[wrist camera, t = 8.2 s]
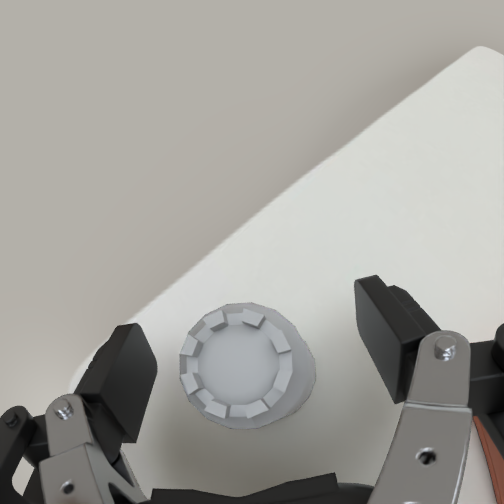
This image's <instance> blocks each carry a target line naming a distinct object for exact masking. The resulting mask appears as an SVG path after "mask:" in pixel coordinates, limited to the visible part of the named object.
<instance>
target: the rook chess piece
mask: <svg viewBox="0 0 504 504" xmlns="http://www.w3.org/2000/svg"><path fill="white" fill-rule="evenodd" d="M315 380H316V373H315V360H314V358H313V356H312V354H311V352H310V350H309V348H308V346H307V344H306V342H305V341H304V340H303V339H302V338H301V337H300V335H299V333H298V331H297V329H296V327H295V326H294V325H293V324H292V323H291V322H289V321H288V320H287V319H286V318H285V317H283V316H282V315H281V314H280V313H279V312H277V311H276V310H274V309H271V308H267V307H264V306H261V305H258V304H255V303H238V304H227V305H225V306H222V307H220V308H218V309H216V310H214V311H212V312H210V313H208V314H205V315H204V316H203V317H202V318H201V320H200V321H199V322H198V323H197V324H196V325H195V326H194V327H193V328H192V329H191V330H190V331H189V332H188V335H187V337H186V340H185V342H184V345H183V347H182V350H181V352H180V381H181V383H182V385H183V388H184V390H185V393H186V395H187V397H188V400H189V402H190V403H191V404H192V405H193V406H194V407H195V408H196V409H197V410H198V411H199V412H200V413H201V414H202V415H203V416H205V417H206V418H207V419H208V420H211V421H213V422H215V423H218V424H220V425H223V426H225V427H228V428H230V429H257V428H260V427H262V426H265V425H267V424H269V423H272V422H274V421H276V420H278V419H281V418H283V417H285V416H287V415H289V414H292V413H294V412H295V411H297V410H298V409H299V408H300V406H301V405H302V404H303V403H304V402H305V401H306V400H307V399H308V398H309V396H310V394H311V391H312V388H313V385H314V383H315Z"/></svg>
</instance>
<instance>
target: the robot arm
mask: <svg viewBox="0 0 504 504" xmlns="http://www.w3.org/2000/svg"><path fill="white" fill-rule="evenodd" d="M354 290H355V304H356V320H357V326H358V330H359V334H360V336H361V338H362V340H363V342H364V344H365V346H366V348H367V350H368V352H369V354H370V356H371V358H372V360H373V361H374V363H375V365H376V367H377V369H378V371H379V373H380V375H381V377H382V379H383V381H384V383H385V385H386V387H387V389H388V391H389V393H390V396H391V398H392V400H393V402H394V404H398V403H401V402H403V401H405V403H404V405H403V408H402V412H401V415H400V418H399V422H398V425H397V428H396V431H395V434H394V437H393V440H392V443H391V446H390V448H389V451H388V454H387V457H386V459H385V462H384V464H383V467H382V470H381V472H380V475H379V477H378V479H377V482H376V484H375V487H374V486H370V485H365V484H358V483H337V478H336V474H335V472H334V473H329V474H325V475H320V476H316V477H311V478H306V479H300V480H294V481H288V482H285V483H283V484H280V485H277V486H274V487H271V488H268V489H266V490H263V491H259V492H256V493H253V494H250V495H247V496H243V497H230V496H224V495H218V494H213V493H208V492H203V491H198V490H193V489H155V488H153V490H152V495H151V500H148V499H147V498H146V497H145V495H144V494H143V492H142V490H141V488H140V486H139V484H138V482H137V480H136V478H135V476H134V474H133V471H132V469H131V467H130V465H129V463H128V460H127V458H126V456H125V454H124V452H123V451H122V450H121V449H120V448H121V445H122V443H136V442H137V438H138V435H139V431H140V428H141V424H142V421H143V417H144V414H145V411H146V407H147V404H148V401H149V398H150V394H151V391H152V388H153V385H154V381H155V378H156V375H157V361H156V358H155V356H154V354H153V352H152V350H151V347H150V345H149V343H148V341H147V339H146V337H145V335H144V332H143V330H142V328H141V326H140V325H139V324H137V323H133V324H126V325H119V326H117V327H116V328H115V330H114V332H113V333H112V335H111V337H110V338H109V340H108V341H107V342H106V343H105V344H104V345H102V346H101V347H100V348H99V349H98V351H97V352H96V354H95V356H94V357H93V361H91V363H90V364H89V366H88V369H87V370H86V371H85V373H84V375H83V377H82V379H81V380H80V382H79V384H78V386H77V388H76V389H75V391H74V393H73V394H66V395H63V396H61V397H58V398H57V399H55V400H54V401H53V402H52V403H51V404H50V405H49V407H48V408H47V410H46V413H45V414H44V415H40V416H36V417H32V416H31V415H30V413H29V412H28V411H27V410H26V408H25V407H23V406H15V407H12V408H10V409H9V410H7V411H6V412H5V413H4V414H3V415H2V416H1V418H0V504H457V500H458V497H459V493H460V488H461V484H462V480H463V475H464V470H465V465H466V459H467V453H468V447H469V440H470V433H471V425H472V417H473V416H477V417H478V419H479V420H480V422H481V423H482V425H483V427H484V428H485V430H486V431H487V433H488V435H489V436H490V438H491V440H492V441H493V443H494V444H495V446H496V448H497V449H498V451H499V453H500V455H501V456H502V458H503V460H504V324H502V325H501V326H499V328H498V329H497V331H496V334H495V338H494V340H491V341H484V342H477V343H469V342H468V340H467V339H466V338H465V337H464V336H463V335H461V334H459V333H457V332H453V331H447V330H441V329H440V328H439V327H438V326H437V325H436V323H435V322H434V321H433V320H432V319H431V318H430V317H429V315H428V314H427V313H426V312H425V311H424V310H423V309H422V308H420V305H419V304H418V303H417V302H416V301H414V299H413V298H412V297H411V296H410V294H409V293H408V292H407V291H405V290H403V289H401V288H399V287H397V286H395V285H393V286H389V287H387V286H386V284H385V283H384V282H383V281H382V280H381V279H380V278H379V276H378V275H373V276H369V277H365V278H361V279H357V280H355V282H354ZM22 456H23V457H24V458H25V459H26V460H27V461H28V462H29V463H30V464H31V465H32V466H33V467H34V471H33V473H32V475H31V477H30V480H29V482H28V485H27V487H26V489H25V491H24V494H23V496H21V495H20V494H19V493H17V491H15V489H14V487H13V485H12V477H13V474H14V473H15V470H16V468H17V466H18V464H19V462H20V460H21V458H22Z"/></svg>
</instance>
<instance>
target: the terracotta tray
mask: <svg viewBox="0 0 504 504" xmlns="http://www.w3.org/2000/svg"><path fill="white" fill-rule="evenodd" d="M473 418H474V421H475V424H476V427H477V430H478V433H479V436H480V439H481V443H482V446H483V449H484V452H485V456H486V459H487V463H488V466H489V470H490V474H491V478H492V482H493V486H494V490H495V494H496V499H497V504H504V460H503V458H502V456H501V455H500V453H499V451H498V449H497V448H496V446H495V444H494V443H493V441H492V440H491V438H490V436H489V435H488V433H487V431H486V430H485V428H484V427H483V425H482V423H481V422H480V420H479V419H478V417H477V416H473Z"/></svg>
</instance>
